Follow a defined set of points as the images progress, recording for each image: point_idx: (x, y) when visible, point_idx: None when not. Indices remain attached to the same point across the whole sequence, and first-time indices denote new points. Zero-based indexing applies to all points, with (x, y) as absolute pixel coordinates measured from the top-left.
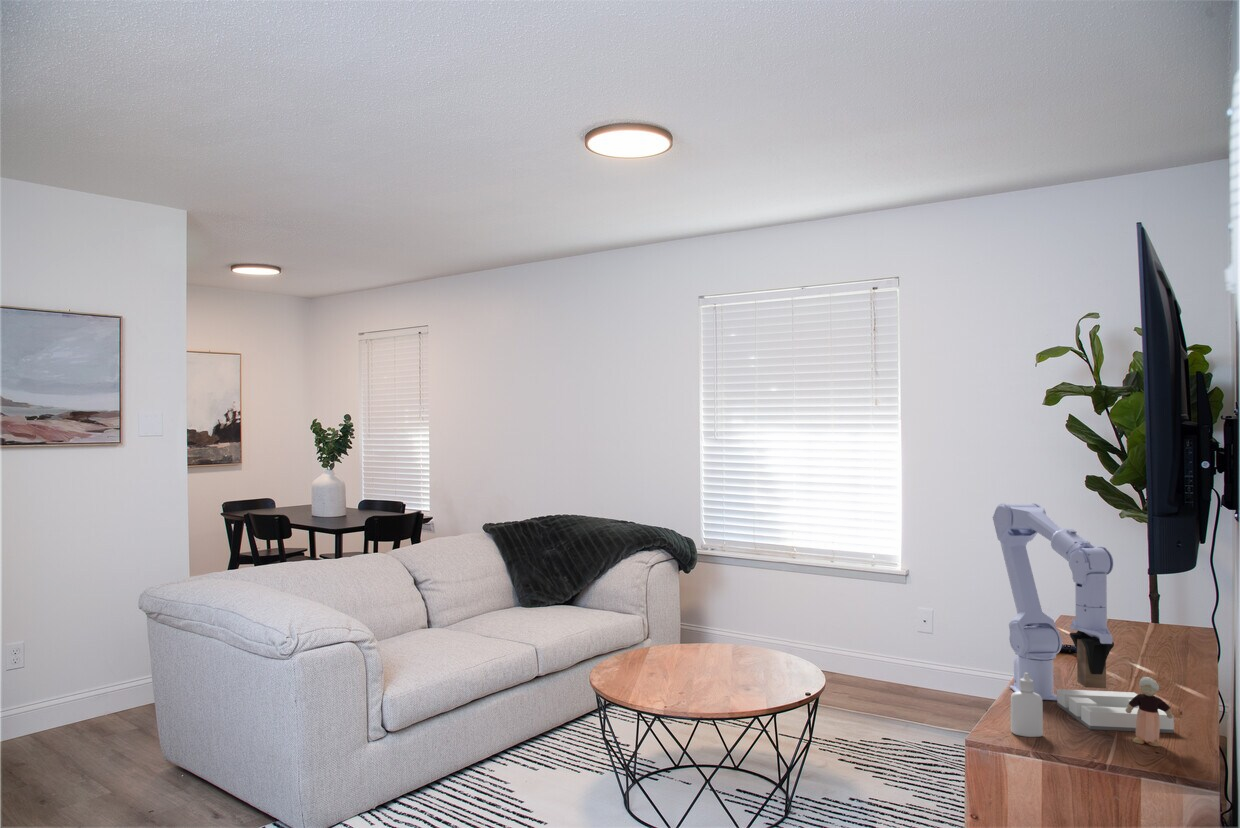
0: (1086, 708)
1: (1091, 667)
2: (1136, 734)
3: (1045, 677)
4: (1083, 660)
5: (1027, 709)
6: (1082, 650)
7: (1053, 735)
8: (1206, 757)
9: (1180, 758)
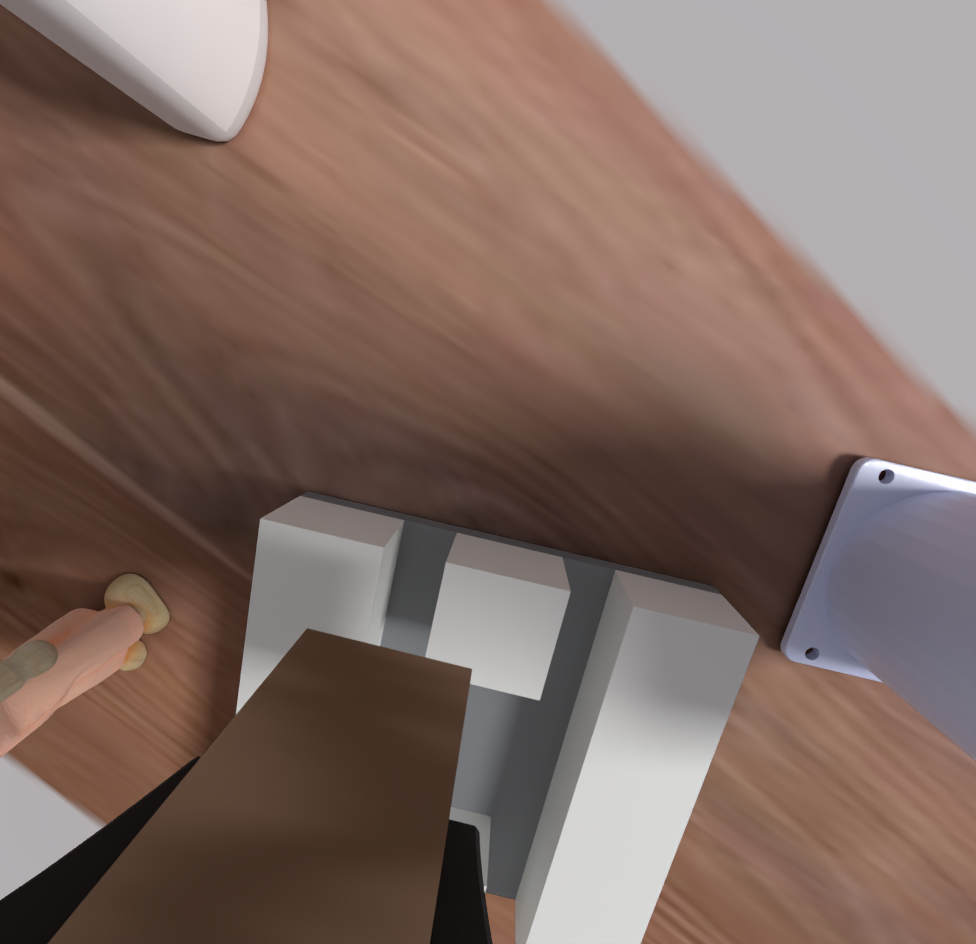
0: (324, 542)
1: (121, 814)
2: (119, 609)
3: (929, 659)
4: (200, 865)
5: None
6: None
7: (208, 218)
8: None
9: None
